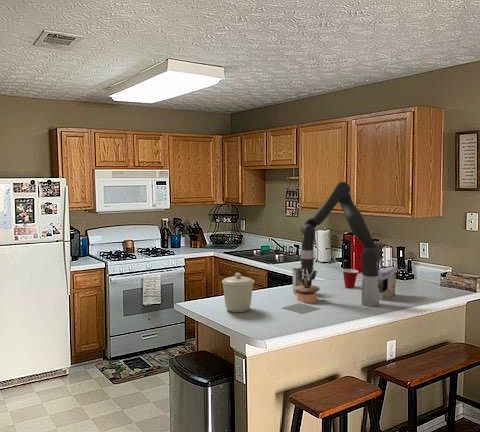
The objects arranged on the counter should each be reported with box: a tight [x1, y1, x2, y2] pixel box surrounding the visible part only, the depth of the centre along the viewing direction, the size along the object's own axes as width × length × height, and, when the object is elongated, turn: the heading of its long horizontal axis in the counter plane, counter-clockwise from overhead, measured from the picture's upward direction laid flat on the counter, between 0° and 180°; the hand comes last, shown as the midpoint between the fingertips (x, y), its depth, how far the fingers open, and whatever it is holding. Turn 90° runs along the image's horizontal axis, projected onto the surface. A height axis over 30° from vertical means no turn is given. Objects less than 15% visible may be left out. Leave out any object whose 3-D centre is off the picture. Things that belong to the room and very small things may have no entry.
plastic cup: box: [341, 268, 359, 289], centre depth 332 cm, size 11×11×12 cm
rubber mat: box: [281, 302, 321, 315], centre depth 279 cm, size 16×16×1 cm
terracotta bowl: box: [296, 291, 318, 304], centre depth 297 cm, size 11×11×5 cm
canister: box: [221, 272, 255, 313], centre depth 275 cm, size 18×18×21 cm
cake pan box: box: [378, 266, 397, 301], centre depth 306 cm, size 19×5×18 cm, turn 136°
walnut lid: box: [294, 277, 320, 293], centre depth 297 cm, size 15×15×7 cm
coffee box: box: [292, 267, 307, 295], centre depth 315 cm, size 9×6×16 cm
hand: (306, 285), depth 297 cm, fingers closed on walnut lid, 3 cm apart
